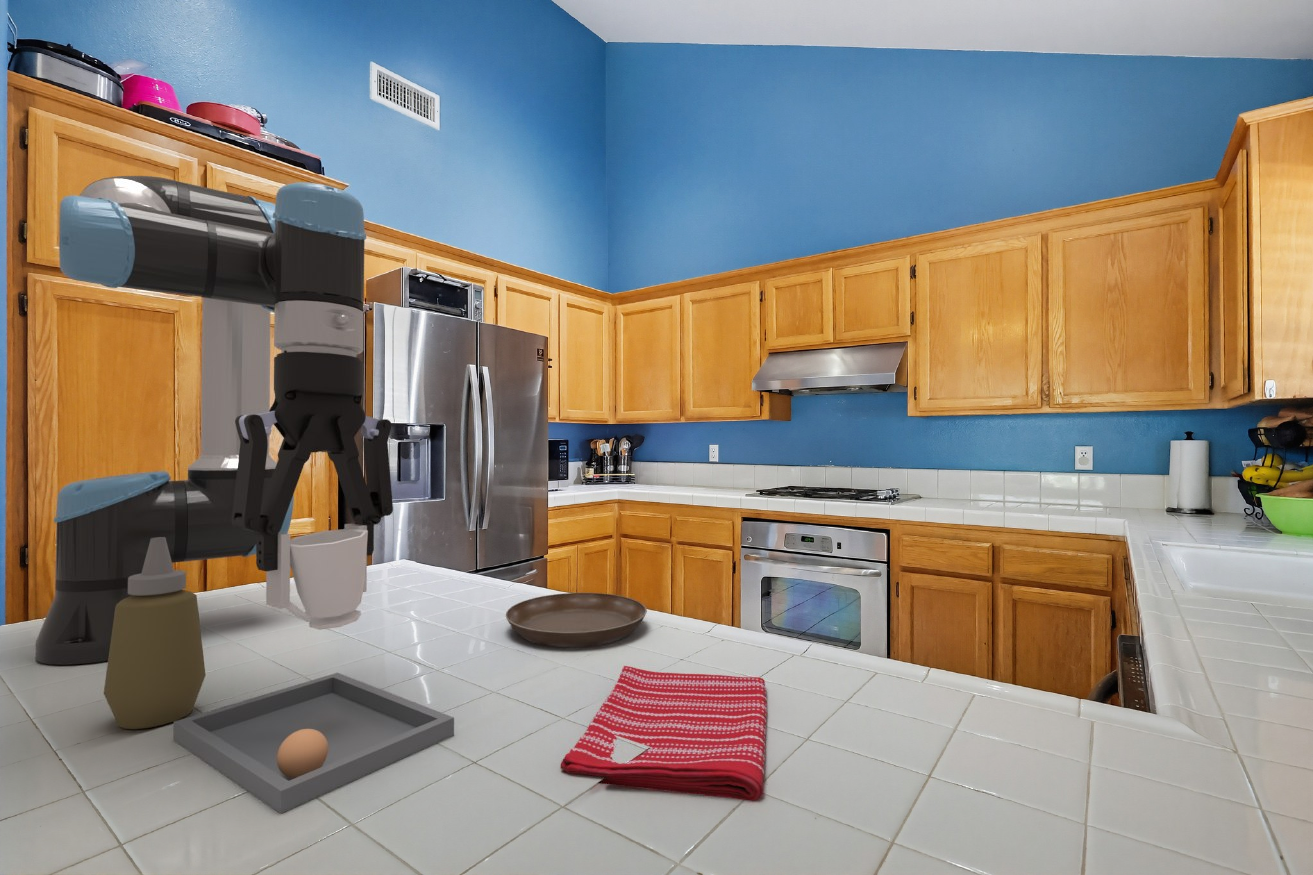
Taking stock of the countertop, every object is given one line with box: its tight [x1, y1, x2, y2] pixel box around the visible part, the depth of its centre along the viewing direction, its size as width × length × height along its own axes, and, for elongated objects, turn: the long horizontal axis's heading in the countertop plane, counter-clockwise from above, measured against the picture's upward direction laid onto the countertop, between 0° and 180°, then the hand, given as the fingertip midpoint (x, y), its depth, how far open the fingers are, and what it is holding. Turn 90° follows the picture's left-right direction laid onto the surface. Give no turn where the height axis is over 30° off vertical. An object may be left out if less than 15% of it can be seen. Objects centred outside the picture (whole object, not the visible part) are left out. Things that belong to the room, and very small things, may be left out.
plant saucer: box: [505, 592, 648, 648], centre depth 94 cm, size 21×21×3 cm
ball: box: [277, 729, 328, 779], centre depth 51 cm, size 4×4×4 cm
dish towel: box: [560, 665, 768, 802], centre depth 61 cm, size 17×24×3 cm
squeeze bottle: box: [103, 537, 206, 730], centre depth 64 cm, size 8×8×18 cm
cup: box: [284, 528, 368, 630], centre depth 60 cm, size 7×10×8 cm
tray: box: [172, 672, 455, 815], centre depth 58 cm, size 20×15×2 cm
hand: (318, 597), depth 60 cm, fingers closed on cup, 7 cm apart
